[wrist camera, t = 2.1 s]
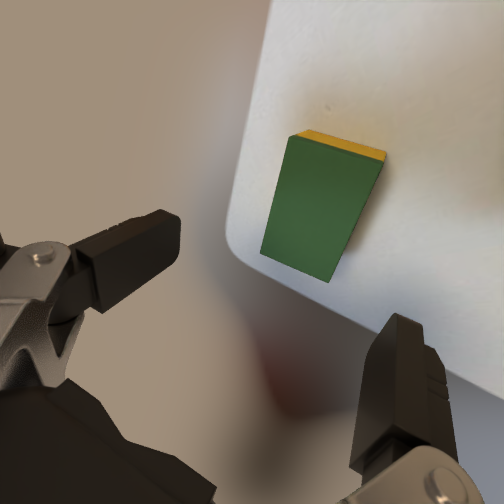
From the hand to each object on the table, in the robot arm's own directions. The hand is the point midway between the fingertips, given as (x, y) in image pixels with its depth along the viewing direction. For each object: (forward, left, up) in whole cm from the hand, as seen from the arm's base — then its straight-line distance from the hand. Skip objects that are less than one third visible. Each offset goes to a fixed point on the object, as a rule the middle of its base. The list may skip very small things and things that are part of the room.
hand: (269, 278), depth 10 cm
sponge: (0, 0, -10) cm, 10 cm away
